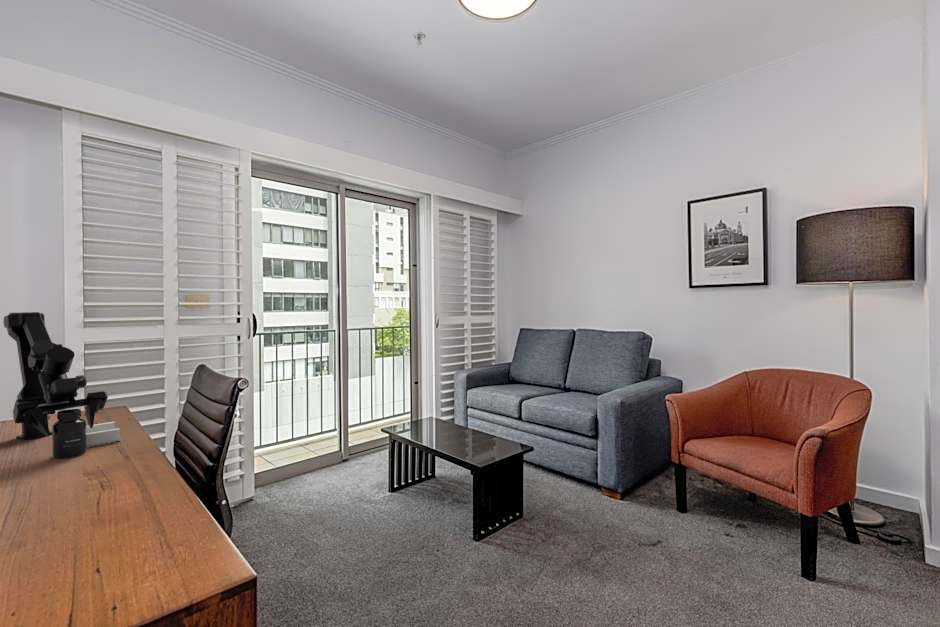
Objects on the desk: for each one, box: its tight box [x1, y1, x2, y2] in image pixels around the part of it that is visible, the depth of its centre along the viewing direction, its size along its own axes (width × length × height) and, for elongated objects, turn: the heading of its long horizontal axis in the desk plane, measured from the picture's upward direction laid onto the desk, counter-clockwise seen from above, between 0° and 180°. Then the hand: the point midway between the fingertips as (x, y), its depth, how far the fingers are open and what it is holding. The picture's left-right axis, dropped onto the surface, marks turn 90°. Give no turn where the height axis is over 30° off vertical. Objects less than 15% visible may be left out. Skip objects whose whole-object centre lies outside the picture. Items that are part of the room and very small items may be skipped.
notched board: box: [86, 421, 121, 448], centre depth 135 cm, size 10×12×4 cm
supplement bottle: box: [51, 408, 87, 460], centre depth 122 cm, size 7×7×12 cm
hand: (71, 431), depth 122 cm, fingers open, 9 cm apart
